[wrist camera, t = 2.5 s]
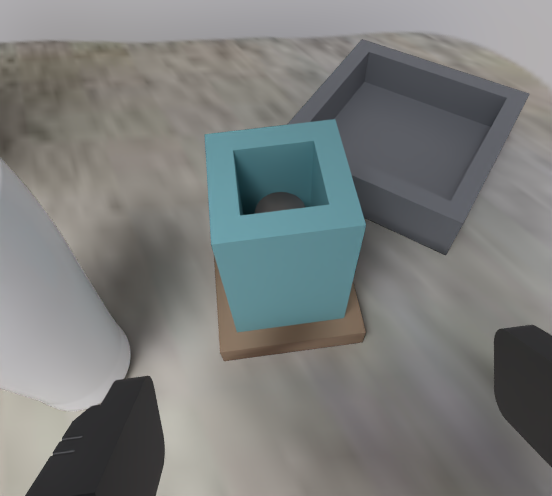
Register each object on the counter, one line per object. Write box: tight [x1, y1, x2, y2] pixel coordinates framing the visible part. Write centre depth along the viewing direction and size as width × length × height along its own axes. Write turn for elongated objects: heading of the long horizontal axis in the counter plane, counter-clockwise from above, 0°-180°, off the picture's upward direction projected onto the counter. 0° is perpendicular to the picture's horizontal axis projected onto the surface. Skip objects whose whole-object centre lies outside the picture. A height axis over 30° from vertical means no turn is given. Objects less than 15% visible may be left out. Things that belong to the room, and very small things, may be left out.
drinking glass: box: [0, 157, 131, 411], centre depth 19 cm, size 7×7×15 cm
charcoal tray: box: [287, 39, 529, 255], centre depth 32 cm, size 13×13×4 cm
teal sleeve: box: [205, 119, 366, 332], centre depth 23 cm, size 6×8×9 cm
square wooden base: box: [214, 192, 366, 361], centre depth 24 cm, size 8×8×8 cm
